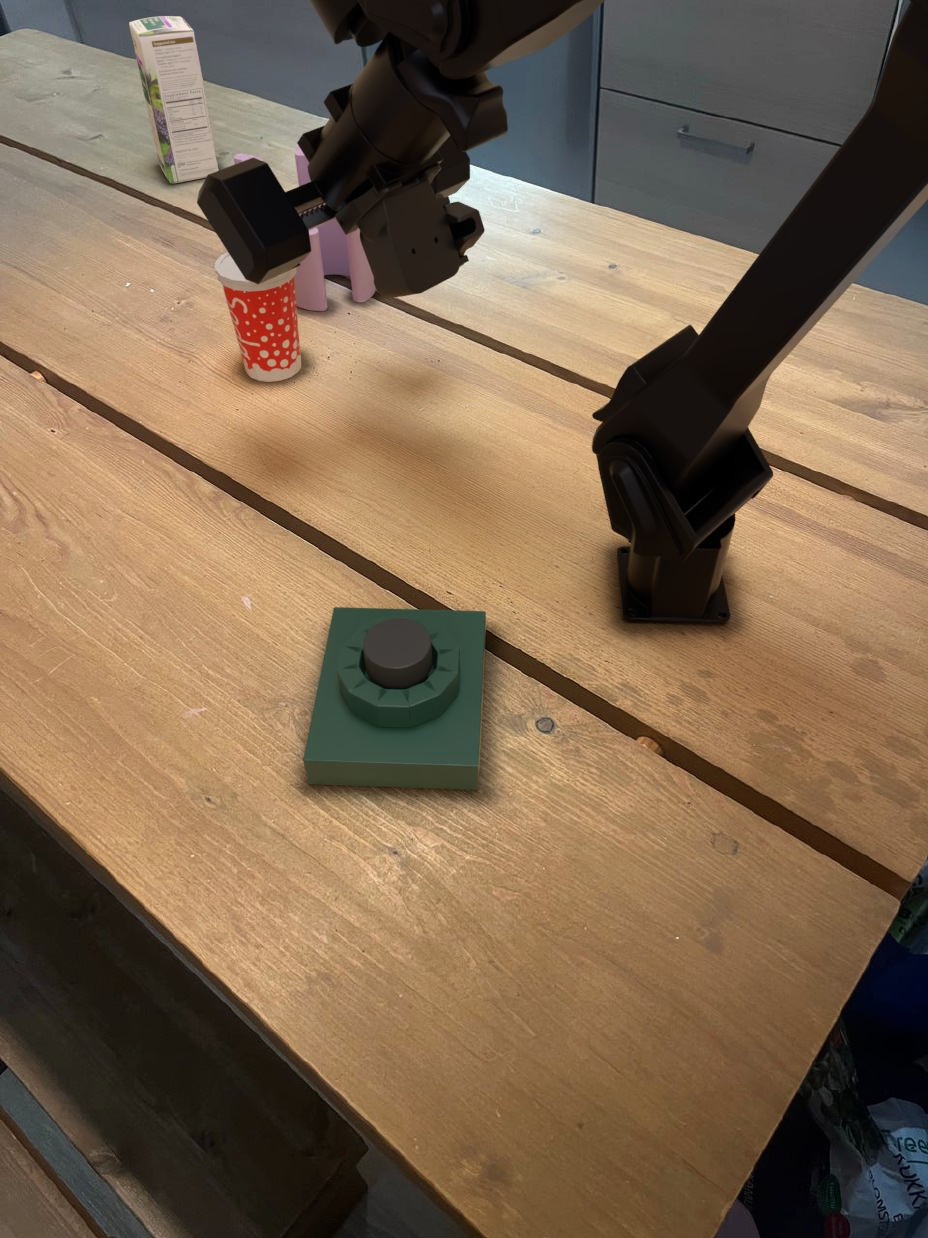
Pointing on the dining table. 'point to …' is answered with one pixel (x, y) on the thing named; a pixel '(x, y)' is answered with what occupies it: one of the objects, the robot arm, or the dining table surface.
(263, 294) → the beverage cup
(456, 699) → the green button box
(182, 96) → the syrup box
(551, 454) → the dining table surface
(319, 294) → the clip
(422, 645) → the push button
